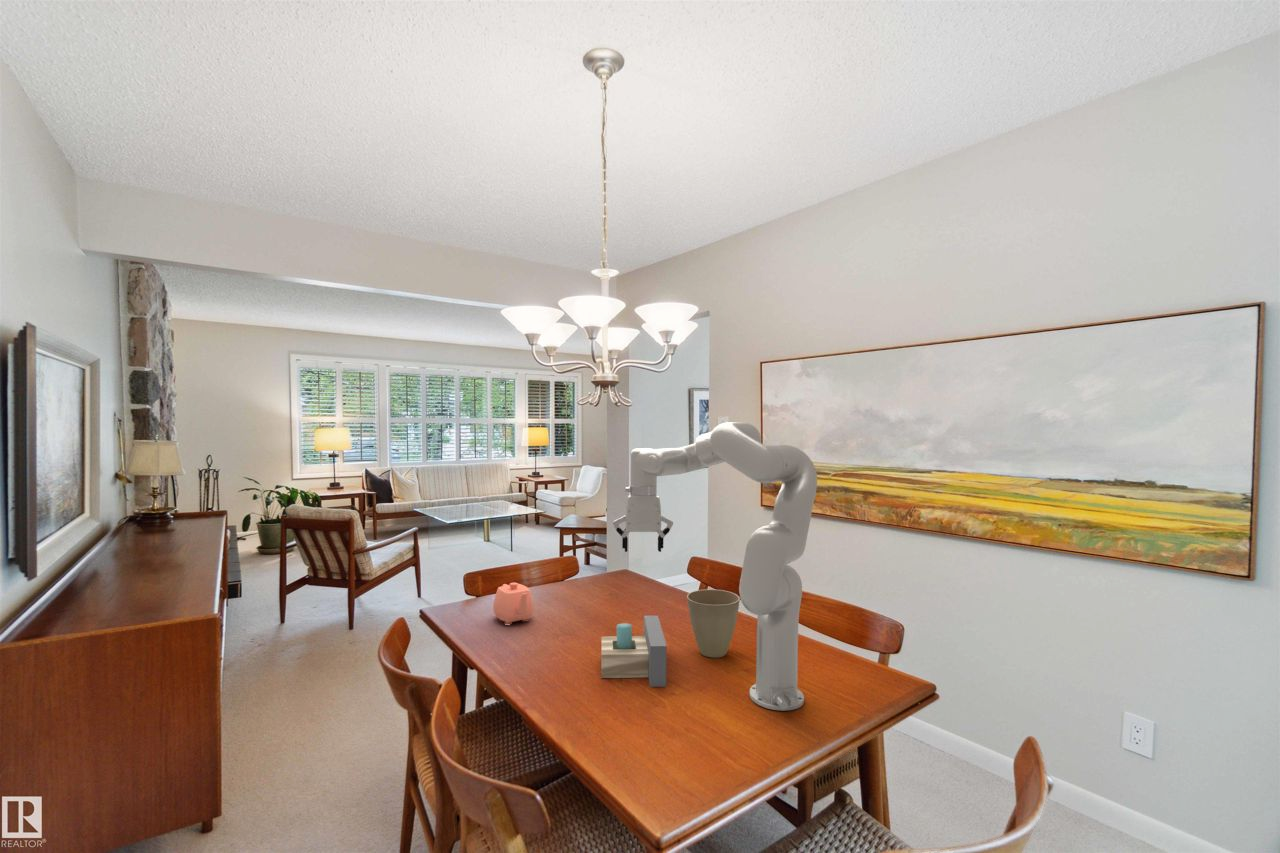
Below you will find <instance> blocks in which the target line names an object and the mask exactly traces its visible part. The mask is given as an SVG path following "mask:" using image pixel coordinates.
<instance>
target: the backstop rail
mask: <svg viewBox="0 0 1280 853" xmlns="http://www.w3.org/2000/svg"><path fill="white" fill-rule="evenodd" d="M643 636H645V638H646V643H647V648H648V653H649V660H648V677H647V678H648V684H649V687H650V688H652V687H653V688H654V687H655V688H656V687H657V688H658V687H659V688H660V687H662V688H663V687H665V688H666V687H667V659H668V658H667V656H668V654H667V653H668V652H667V649H668V648H667V643H666V639H665V636H664V632H663V629H662V626H661V621H660V618H659V615H643Z"/></svg>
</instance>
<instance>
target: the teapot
mask: <svg viewBox="0 0 1280 853" xmlns="http://www.w3.org/2000/svg"><path fill="white" fill-rule="evenodd" d="M534 607H535V606H534V600H533V596H532V593H531V590H530V588H528V586H526V585H523V584H521V583H518V582H510V583H509V584H506V583H504V584H502V585H501V586H498V587H497V590H496V593H495V596H494V600H493V613H494V615H495V616H496V618H497V619H498V618H499V619H500V620H499V621H502V622H504V624H512V625H513V622H518V621H521V620H522V621H528V620H529V621H530V619H531V618H532V617H533V615H534V611H535V608H534ZM522 621H521V622H522ZM529 621H528V622H529Z"/></svg>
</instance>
